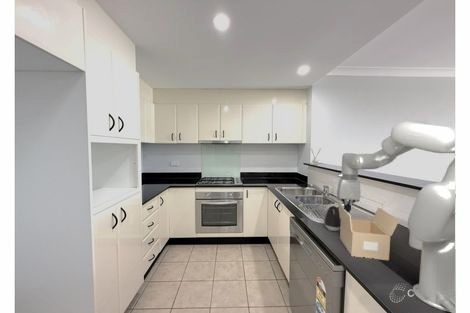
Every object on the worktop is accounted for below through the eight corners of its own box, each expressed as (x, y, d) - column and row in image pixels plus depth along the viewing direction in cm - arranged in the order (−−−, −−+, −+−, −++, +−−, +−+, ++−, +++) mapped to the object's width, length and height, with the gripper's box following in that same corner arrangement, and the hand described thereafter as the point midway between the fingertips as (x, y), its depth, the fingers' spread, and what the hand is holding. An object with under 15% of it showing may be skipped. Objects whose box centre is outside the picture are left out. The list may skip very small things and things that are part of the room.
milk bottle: (421, 251, 106) (424, 213, 105) (405, 244, 114) (407, 208, 113) (432, 250, 109) (434, 212, 107) (415, 243, 116) (418, 207, 115)
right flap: (390, 235, 98) (391, 235, 97) (397, 220, 97) (399, 220, 96) (372, 220, 117) (373, 220, 117) (378, 207, 116) (379, 207, 116)
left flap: (340, 217, 120) (339, 217, 120) (339, 204, 120) (338, 204, 120) (352, 231, 101) (351, 231, 101) (350, 215, 101) (349, 215, 101)
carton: (388, 260, 98) (390, 236, 97) (351, 256, 101) (352, 232, 101) (370, 241, 118) (371, 220, 117) (339, 238, 121) (340, 218, 120)
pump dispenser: (345, 231, 130) (346, 207, 129) (333, 234, 126) (334, 209, 125) (332, 225, 140) (333, 203, 139) (320, 227, 136) (321, 204, 135)
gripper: (335, 177, 107) (333, 212, 108) (368, 179, 104) (365, 215, 105) (332, 175, 114) (330, 208, 115) (362, 176, 111) (360, 210, 112)
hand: (347, 211), depth 110 cm, fingers closed
